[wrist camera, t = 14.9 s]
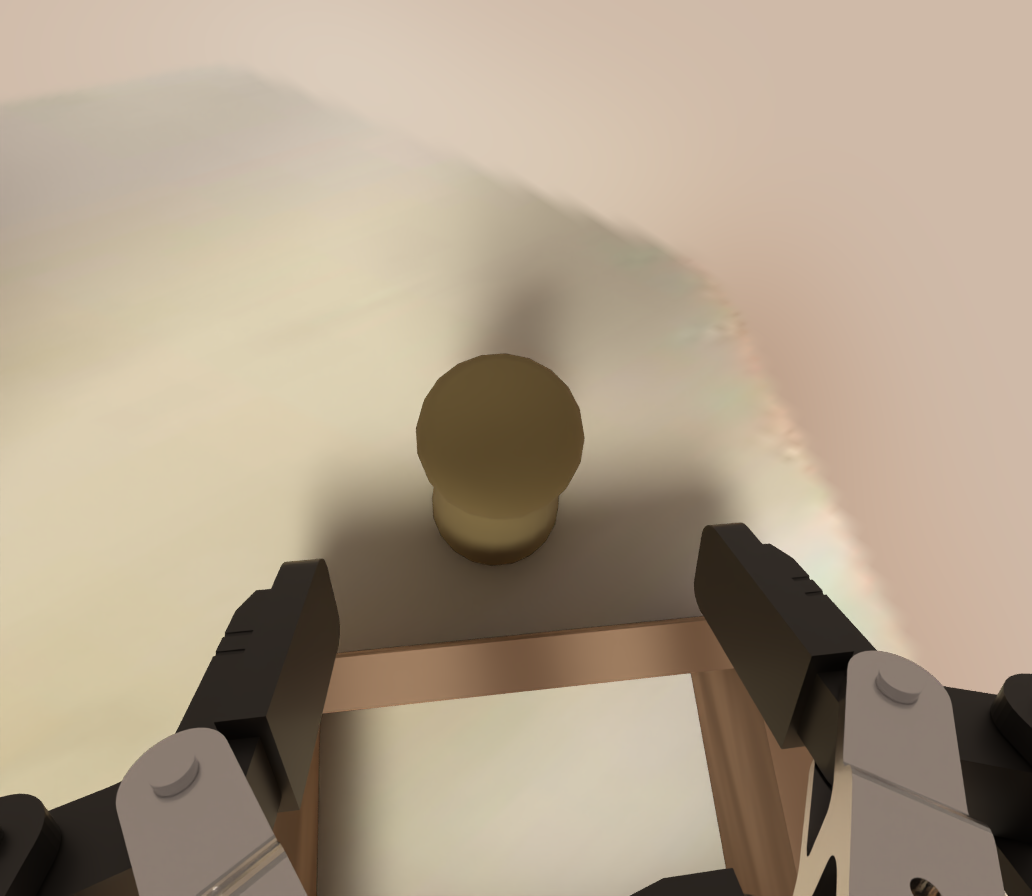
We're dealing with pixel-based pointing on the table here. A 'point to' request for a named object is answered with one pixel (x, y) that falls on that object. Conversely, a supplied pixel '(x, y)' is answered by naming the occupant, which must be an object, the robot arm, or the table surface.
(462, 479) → the olive pawn
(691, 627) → the walnut crate
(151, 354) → the table surface
